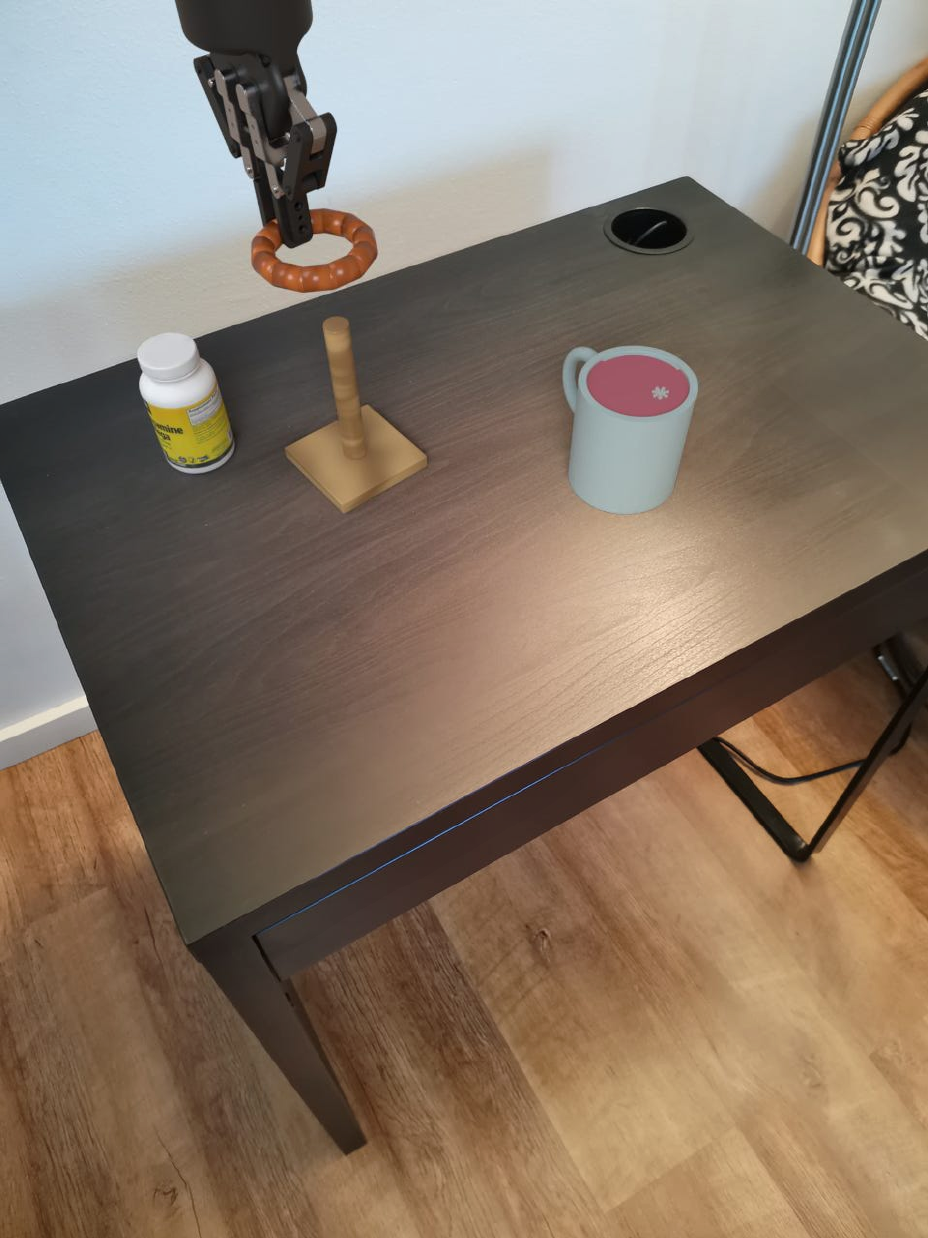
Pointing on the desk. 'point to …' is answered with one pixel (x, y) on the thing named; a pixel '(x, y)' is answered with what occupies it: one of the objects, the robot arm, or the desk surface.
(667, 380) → the mug
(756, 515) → the desk surface
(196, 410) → the pill bottle
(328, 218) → the ring
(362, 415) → the stand
